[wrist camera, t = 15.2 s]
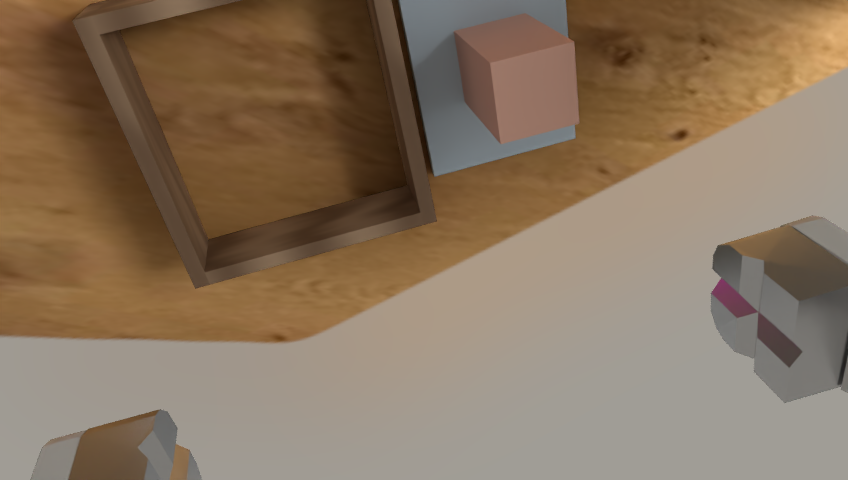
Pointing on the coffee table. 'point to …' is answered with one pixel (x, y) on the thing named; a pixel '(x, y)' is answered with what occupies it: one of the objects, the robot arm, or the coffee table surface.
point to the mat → (441, 81)
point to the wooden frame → (274, 241)
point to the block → (518, 76)
